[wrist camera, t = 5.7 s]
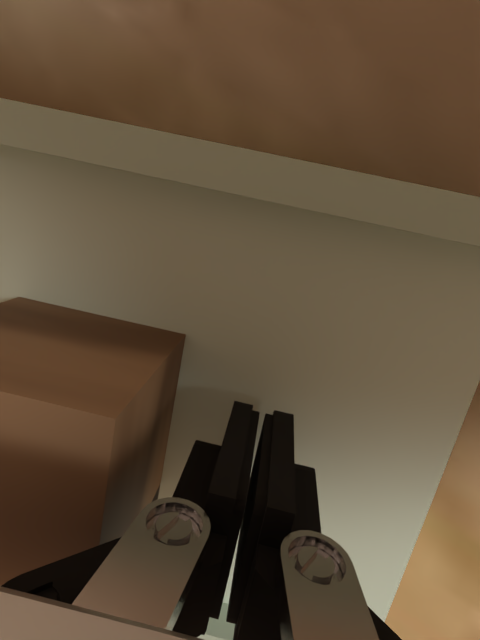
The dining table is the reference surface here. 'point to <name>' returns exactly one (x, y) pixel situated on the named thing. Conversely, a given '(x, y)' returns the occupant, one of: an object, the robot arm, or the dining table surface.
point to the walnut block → (78, 428)
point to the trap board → (265, 304)
